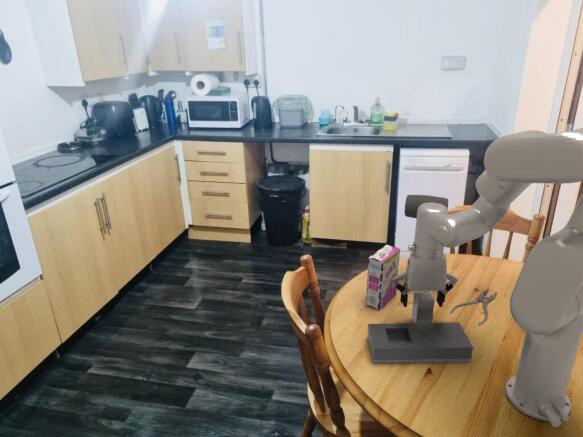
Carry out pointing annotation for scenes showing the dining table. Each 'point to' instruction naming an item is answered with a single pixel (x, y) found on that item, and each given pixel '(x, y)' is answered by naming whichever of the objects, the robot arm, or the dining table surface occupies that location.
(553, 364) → the robot arm
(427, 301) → the steel peg
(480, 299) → the pliers
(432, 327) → the rectangular block
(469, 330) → the dining table surface
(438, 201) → the rubber mallet
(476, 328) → the dining table surface
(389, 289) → the candy bar box
